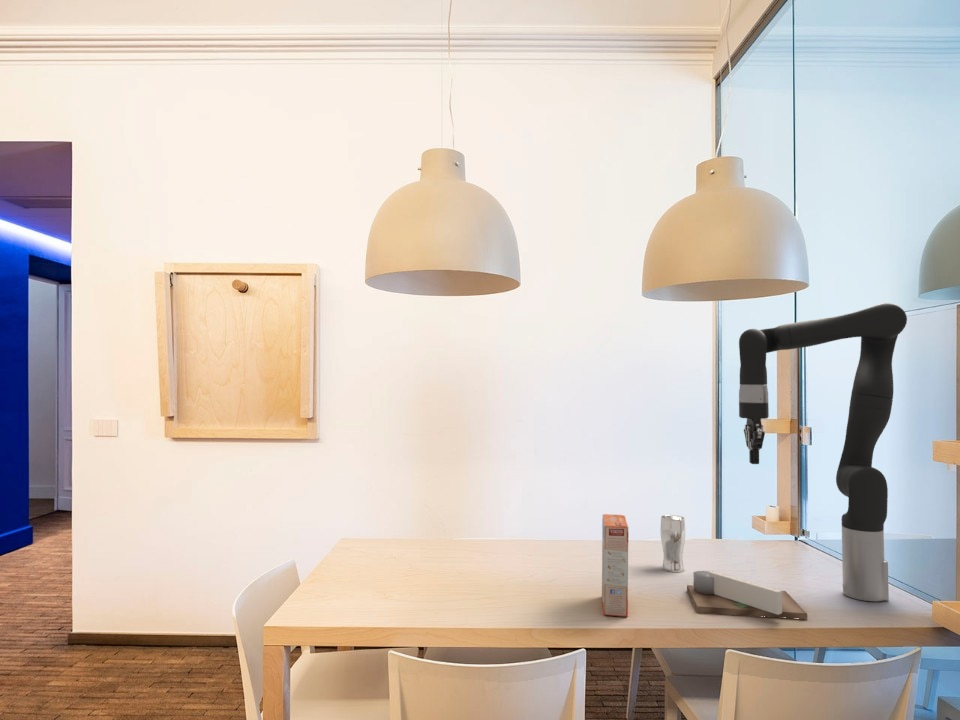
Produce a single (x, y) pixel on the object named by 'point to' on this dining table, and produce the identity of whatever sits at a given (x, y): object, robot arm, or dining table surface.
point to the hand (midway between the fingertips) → (754, 463)
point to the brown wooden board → (741, 606)
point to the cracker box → (615, 565)
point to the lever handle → (738, 590)
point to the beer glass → (673, 542)
